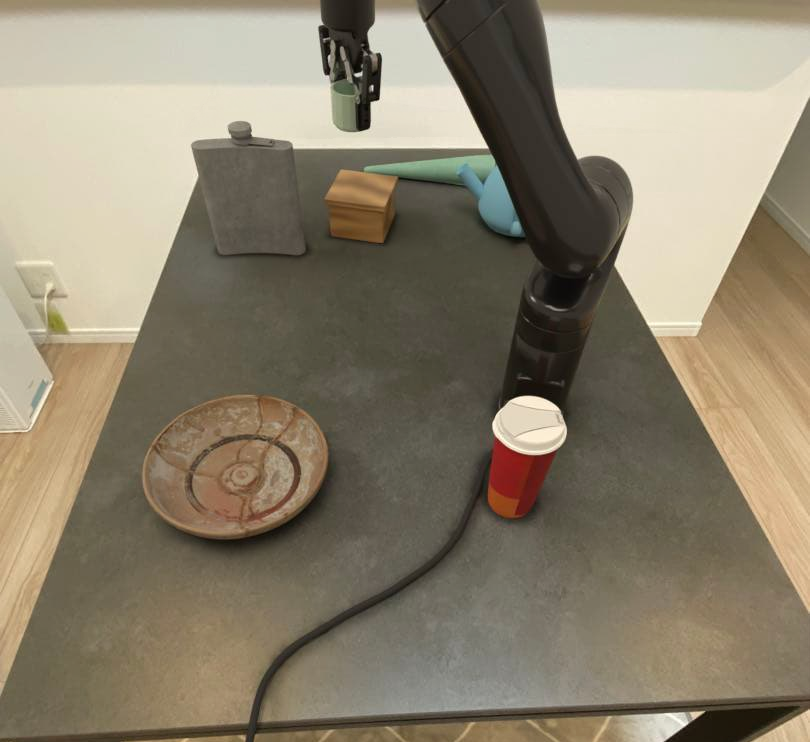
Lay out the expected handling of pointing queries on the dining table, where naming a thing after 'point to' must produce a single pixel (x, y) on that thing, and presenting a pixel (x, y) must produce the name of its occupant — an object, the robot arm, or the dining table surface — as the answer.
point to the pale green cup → (344, 105)
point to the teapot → (493, 201)
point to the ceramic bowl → (235, 466)
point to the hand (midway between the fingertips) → (352, 120)
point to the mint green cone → (438, 169)
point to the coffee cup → (523, 453)
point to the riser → (361, 205)
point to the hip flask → (250, 192)
